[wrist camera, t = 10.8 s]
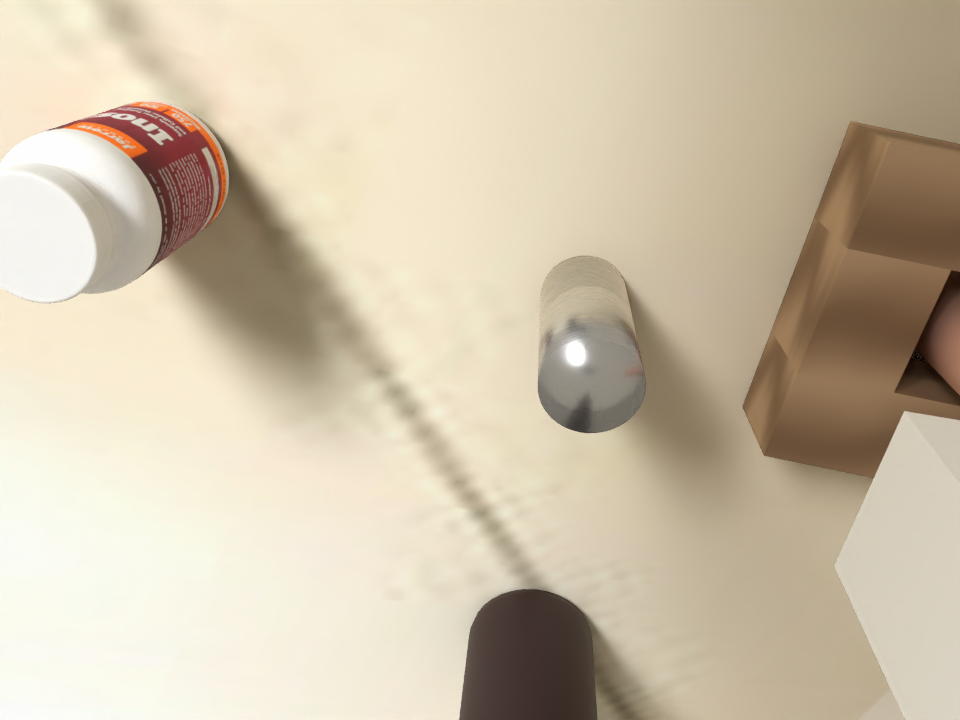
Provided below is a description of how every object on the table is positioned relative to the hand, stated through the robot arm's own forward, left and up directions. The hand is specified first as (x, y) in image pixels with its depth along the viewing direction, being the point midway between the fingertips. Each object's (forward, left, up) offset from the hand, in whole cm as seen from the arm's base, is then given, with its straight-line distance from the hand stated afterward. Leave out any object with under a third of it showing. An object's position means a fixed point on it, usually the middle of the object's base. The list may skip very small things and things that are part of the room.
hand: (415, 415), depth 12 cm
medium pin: (+8, +5, -27) cm, 28 cm away
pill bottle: (+6, -15, -27) cm, 31 cm away
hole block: (+5, +21, -27) cm, 35 cm away
